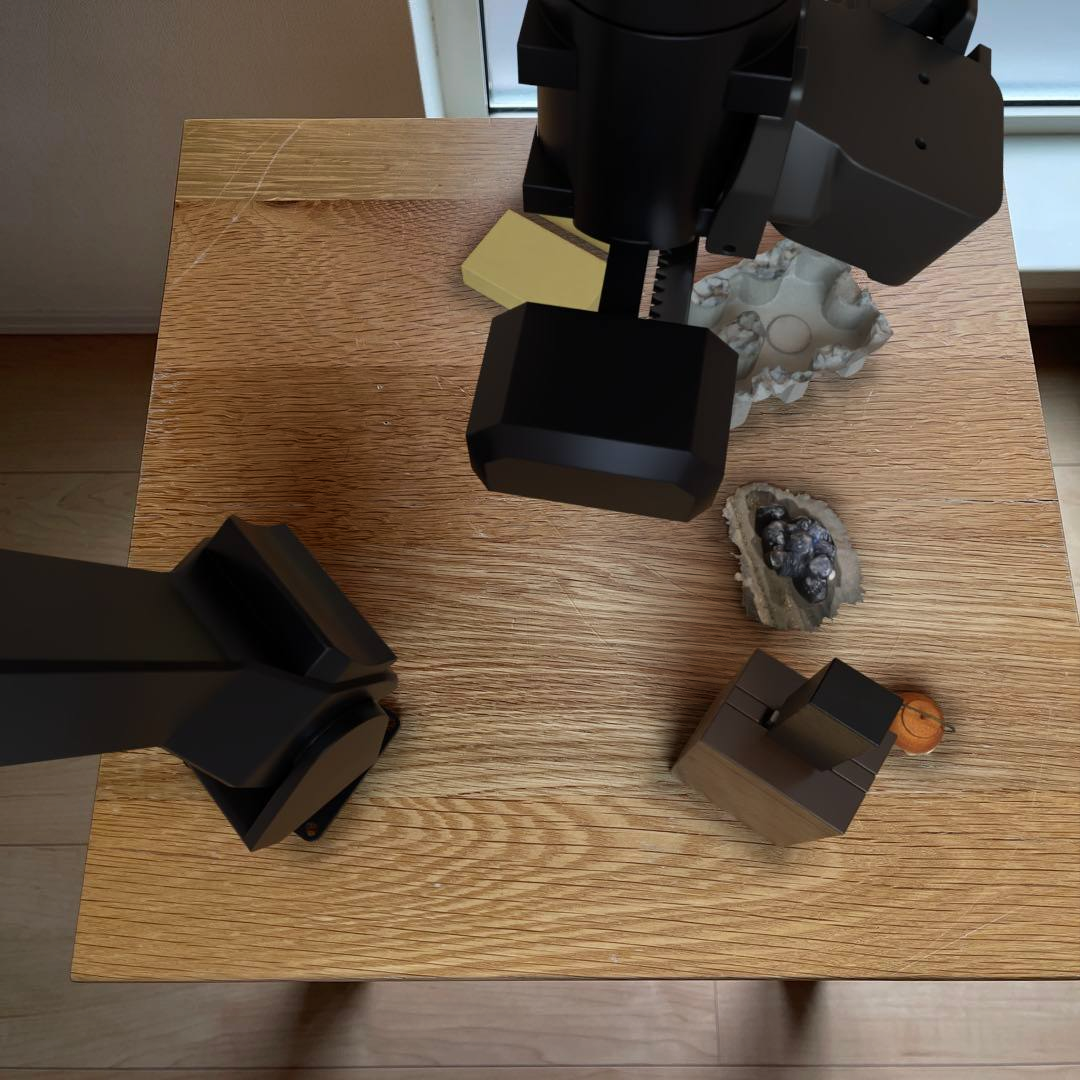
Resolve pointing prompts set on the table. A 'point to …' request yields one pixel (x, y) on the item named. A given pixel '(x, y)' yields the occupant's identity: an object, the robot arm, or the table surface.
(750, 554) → the blue crystal geode
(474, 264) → the butter block
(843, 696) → the dark brown angled piece
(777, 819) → the brown slotted box
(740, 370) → the egg carton
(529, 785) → the table surface
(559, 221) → the butter pat
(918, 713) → the teapot
